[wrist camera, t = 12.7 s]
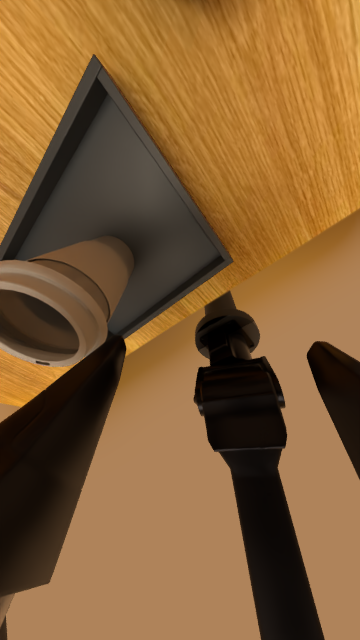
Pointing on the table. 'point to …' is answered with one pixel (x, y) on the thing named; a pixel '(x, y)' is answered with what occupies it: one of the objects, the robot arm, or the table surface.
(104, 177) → the tray
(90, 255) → the cup
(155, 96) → the table surface
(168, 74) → the table surface
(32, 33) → the table surface
